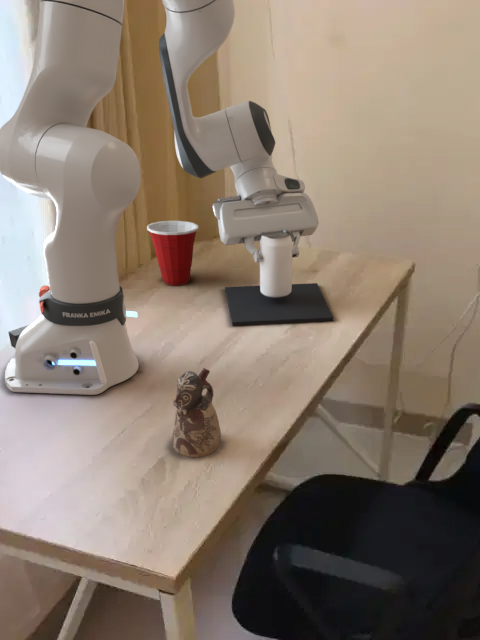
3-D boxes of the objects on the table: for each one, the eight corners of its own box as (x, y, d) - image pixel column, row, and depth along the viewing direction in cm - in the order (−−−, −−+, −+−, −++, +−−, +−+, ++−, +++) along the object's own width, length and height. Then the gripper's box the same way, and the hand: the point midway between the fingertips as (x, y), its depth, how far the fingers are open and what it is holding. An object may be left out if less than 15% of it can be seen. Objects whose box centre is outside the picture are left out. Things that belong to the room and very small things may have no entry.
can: (296, 295, 151) (297, 236, 144) (266, 300, 149) (266, 240, 142) (284, 284, 156) (285, 226, 149) (255, 288, 154) (254, 229, 147)
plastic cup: (205, 272, 167) (202, 217, 160) (196, 290, 159) (193, 233, 152) (158, 270, 168) (153, 215, 161) (146, 288, 160) (140, 231, 152)
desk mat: (232, 326, 145) (232, 322, 145) (224, 290, 159) (224, 286, 159) (333, 321, 148) (333, 317, 147) (317, 286, 162) (317, 282, 161)
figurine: (166, 438, 113) (159, 366, 106) (209, 426, 116) (205, 356, 108) (184, 462, 108) (178, 388, 101) (228, 449, 111) (226, 377, 103)
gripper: (213, 189, 143) (231, 257, 142) (310, 180, 149) (329, 244, 148) (207, 207, 149) (224, 272, 148) (301, 197, 155) (318, 259, 154)
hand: (277, 258), depth 148 cm, fingers closed on can, 6 cm apart
